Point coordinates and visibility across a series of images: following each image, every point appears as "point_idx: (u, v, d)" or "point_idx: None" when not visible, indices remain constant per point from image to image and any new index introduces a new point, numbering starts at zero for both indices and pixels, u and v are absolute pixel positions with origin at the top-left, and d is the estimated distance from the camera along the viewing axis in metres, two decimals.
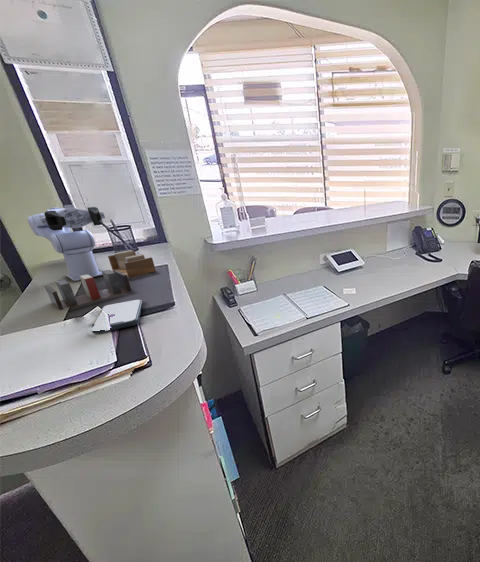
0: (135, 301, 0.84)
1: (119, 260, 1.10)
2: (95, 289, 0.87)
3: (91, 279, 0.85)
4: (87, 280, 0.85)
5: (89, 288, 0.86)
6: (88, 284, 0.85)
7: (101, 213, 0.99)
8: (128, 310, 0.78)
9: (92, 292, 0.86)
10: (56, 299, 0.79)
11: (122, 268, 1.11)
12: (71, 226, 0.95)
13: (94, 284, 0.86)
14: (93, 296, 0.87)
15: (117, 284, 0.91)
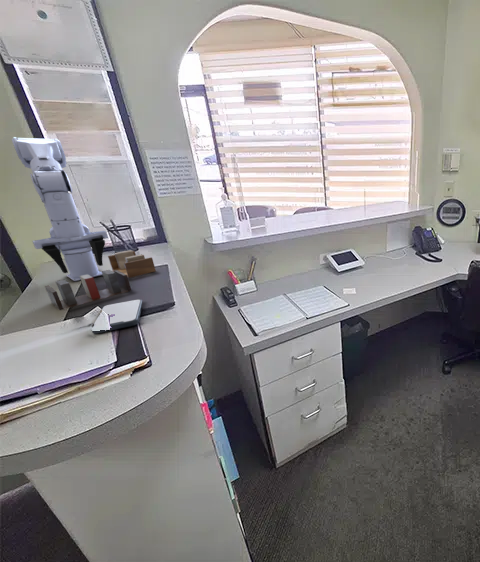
0: (135, 301, 0.84)
1: (119, 260, 1.10)
2: (95, 289, 0.87)
3: (91, 279, 0.85)
4: (87, 280, 0.85)
5: (89, 288, 0.86)
6: (88, 284, 0.85)
7: None
8: (128, 310, 0.78)
9: (92, 292, 0.86)
10: (56, 299, 0.79)
11: (122, 268, 1.11)
12: None
13: (94, 284, 0.86)
14: (93, 296, 0.87)
15: (117, 284, 0.91)
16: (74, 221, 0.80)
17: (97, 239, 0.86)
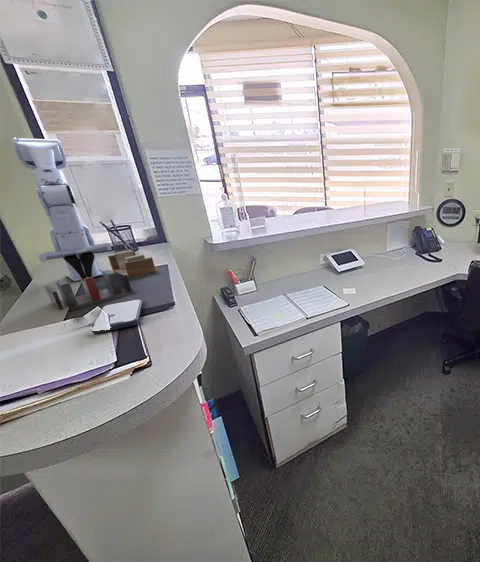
0: (135, 301, 0.84)
1: (119, 260, 1.10)
2: (95, 289, 0.87)
3: (91, 279, 0.85)
4: (87, 280, 0.85)
5: (89, 288, 0.85)
6: (88, 284, 0.85)
7: None
8: (128, 310, 0.78)
9: (92, 292, 0.86)
10: (56, 299, 0.79)
11: (122, 268, 1.11)
12: None
13: (94, 284, 0.86)
14: (93, 296, 0.87)
15: (117, 284, 0.91)
16: (78, 234, 0.82)
17: (86, 253, 0.85)
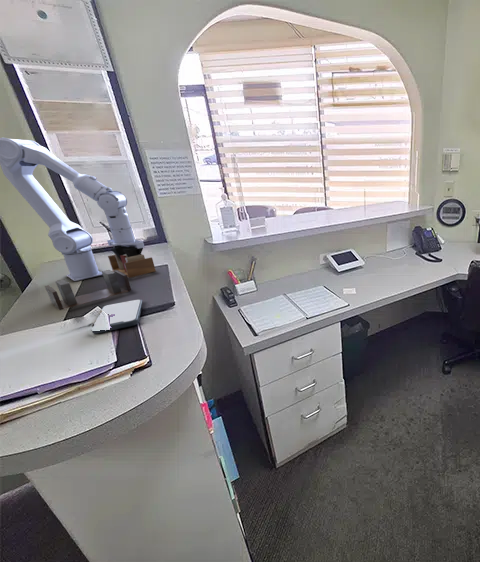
0: (135, 301, 0.84)
1: (119, 260, 1.10)
2: None
3: (123, 257, 1.06)
4: (121, 256, 1.06)
5: None
6: (122, 260, 1.07)
7: None
8: (128, 310, 0.78)
9: (124, 266, 1.08)
10: (56, 299, 0.79)
11: (122, 268, 1.11)
12: None
13: (125, 261, 1.07)
14: (125, 270, 1.08)
15: (117, 284, 0.91)
16: (115, 231, 1.03)
17: (130, 247, 1.06)
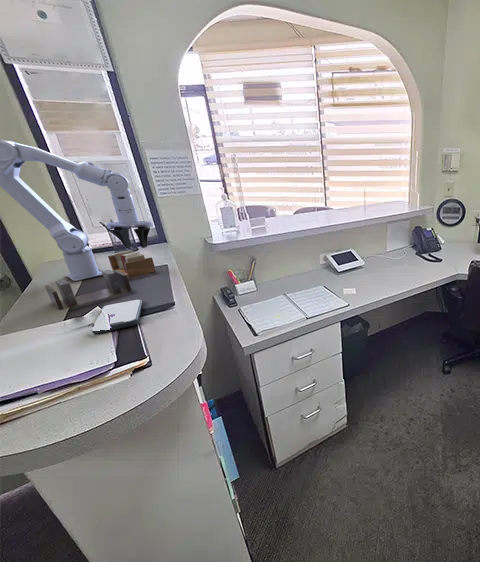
0: (135, 301, 0.84)
1: (119, 260, 1.10)
2: None
3: (123, 257, 1.06)
4: (121, 256, 1.06)
5: None
6: (122, 260, 1.07)
7: None
8: (128, 310, 0.78)
9: (124, 266, 1.08)
10: (56, 299, 0.79)
11: (122, 268, 1.11)
12: None
13: (125, 261, 1.07)
14: (125, 270, 1.08)
15: (117, 284, 0.91)
16: (124, 212, 1.06)
17: (140, 227, 1.10)
